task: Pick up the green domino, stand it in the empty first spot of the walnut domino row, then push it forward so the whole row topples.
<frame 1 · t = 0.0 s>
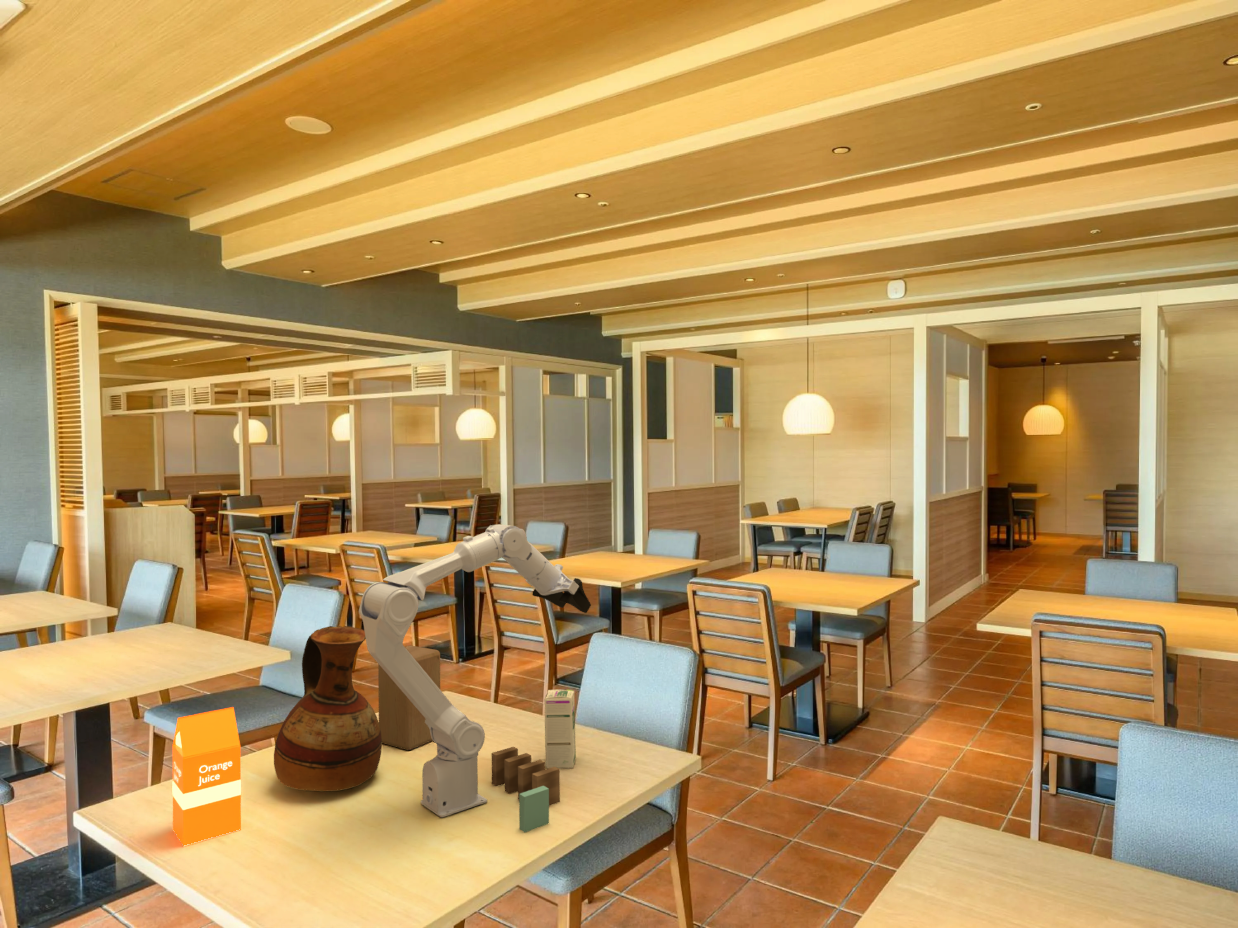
hand: (576, 606, 160), 32 cm above the table, tool tilted 50°, fingers open, 7 cm apart
domino 5: (504, 781, 151), on the table
domino 3: (531, 796, 144), on the table
wooden block: (409, 741, 173), on the table
domino 2: (546, 804, 141), on the table
ceramic pitcher: (328, 782, 151), on the table
green domino: (534, 826, 132), on the table
domino 4: (518, 788, 147), on the table
syrup box: (560, 764, 160), on the table
orange juice: (206, 831, 131), on the table
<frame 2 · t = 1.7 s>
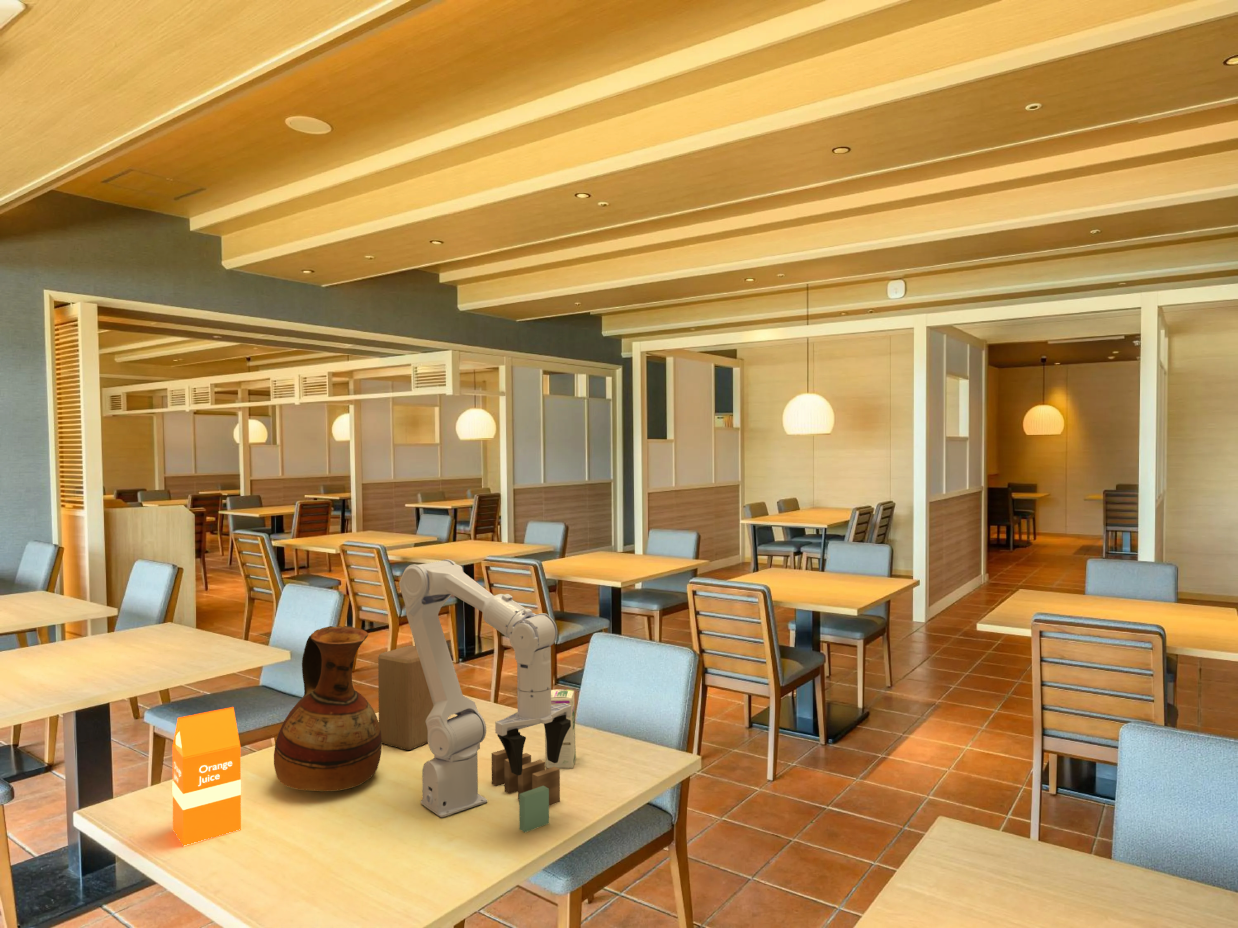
hand: (534, 767, 132), 10 cm above the table, tool pointing down, fingers open, 7 cm apart
nothing on the table moved.
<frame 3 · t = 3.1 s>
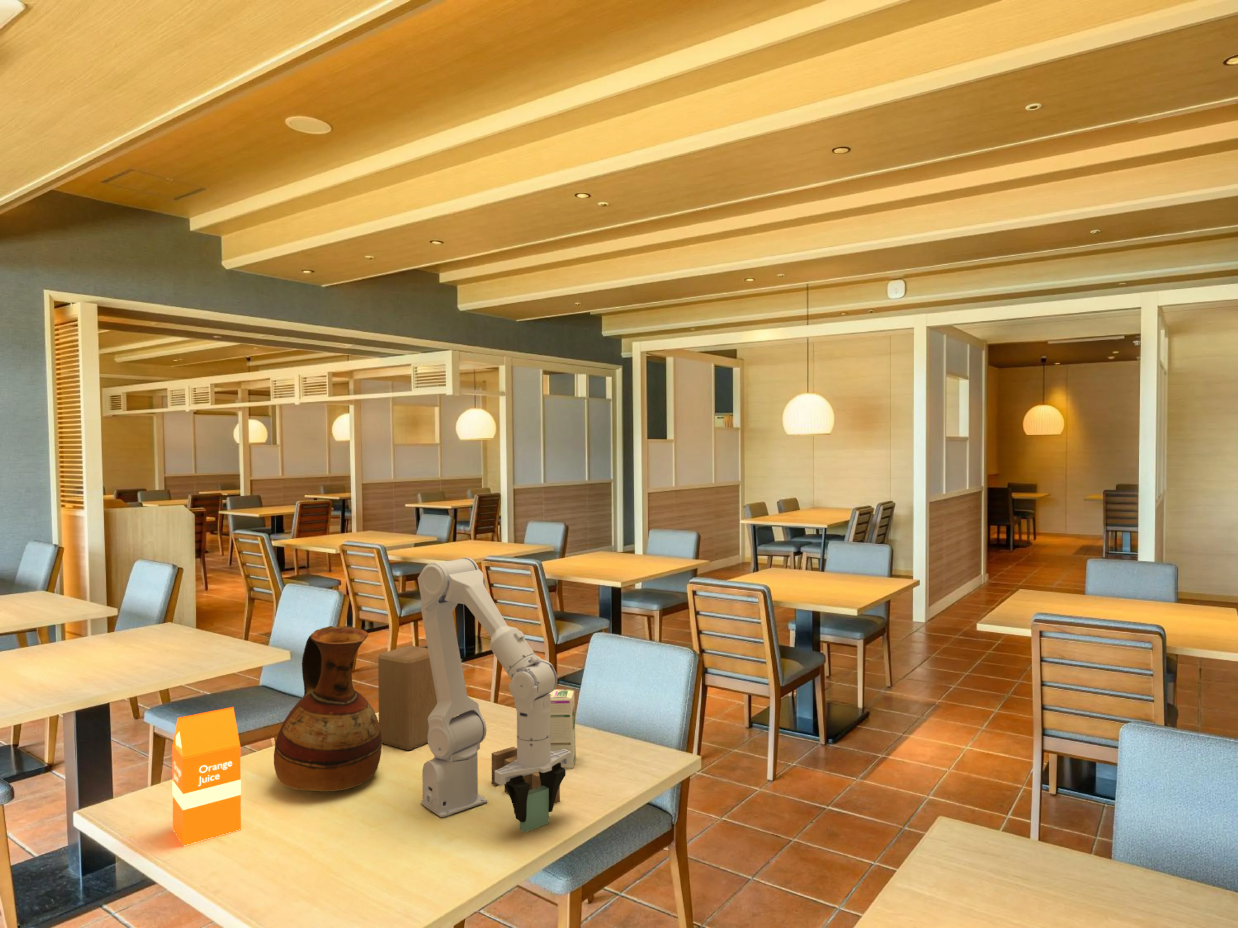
hand: (534, 814, 132), 2 cm above the table, tool pointing down, fingers closed on green domino, 5 cm apart
green domino: (534, 825, 132), on the table, touching gripper
everything else where it was.
when the fingers open (3 cm above the table, at t = 6.8 s): green domino drops 1 cm, on the table.
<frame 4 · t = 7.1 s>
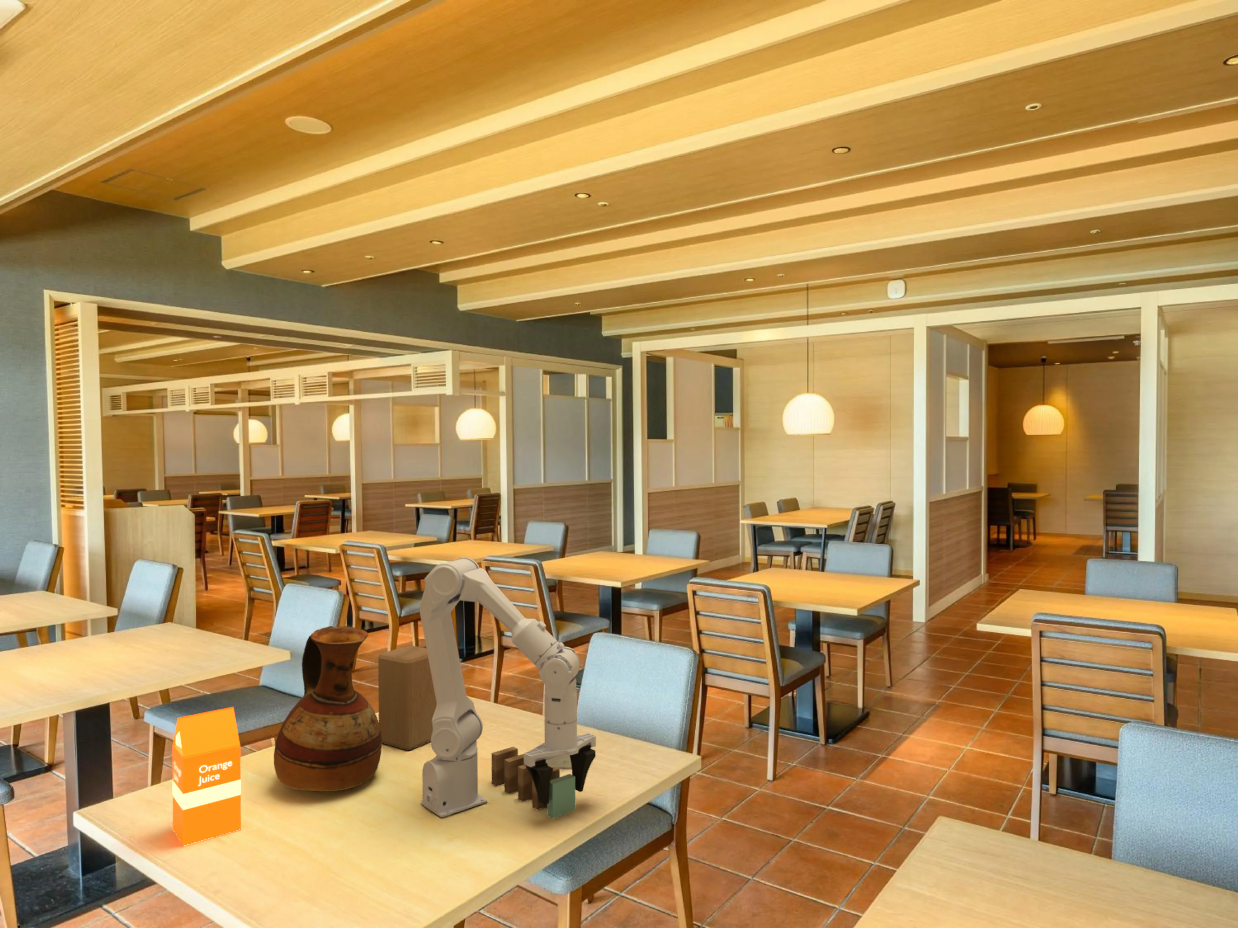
hand: (561, 795, 137), 3 cm above the table, tool pointing down, fingers open, 7 cm apart
green domino: (561, 812, 137), on the table
everything else where it was.
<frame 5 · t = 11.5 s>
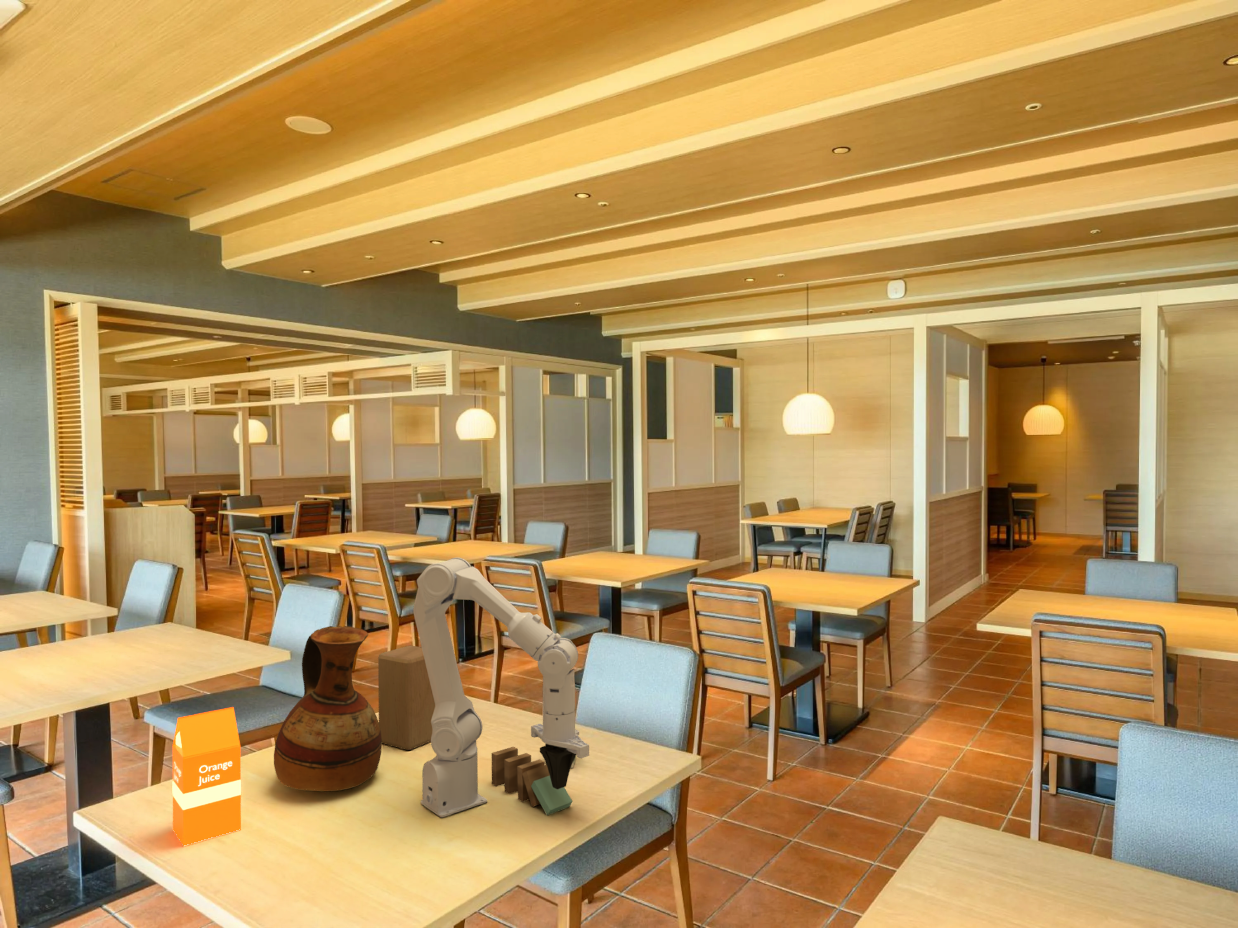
hand: (559, 786, 138), 4 cm above the table, tool pointing down, fingers closed
domino 2: (545, 801, 141), on the table, tilted 31°
green domino: (559, 808, 137), point 1 cm above the table, tilted 53°
everything else where it was.
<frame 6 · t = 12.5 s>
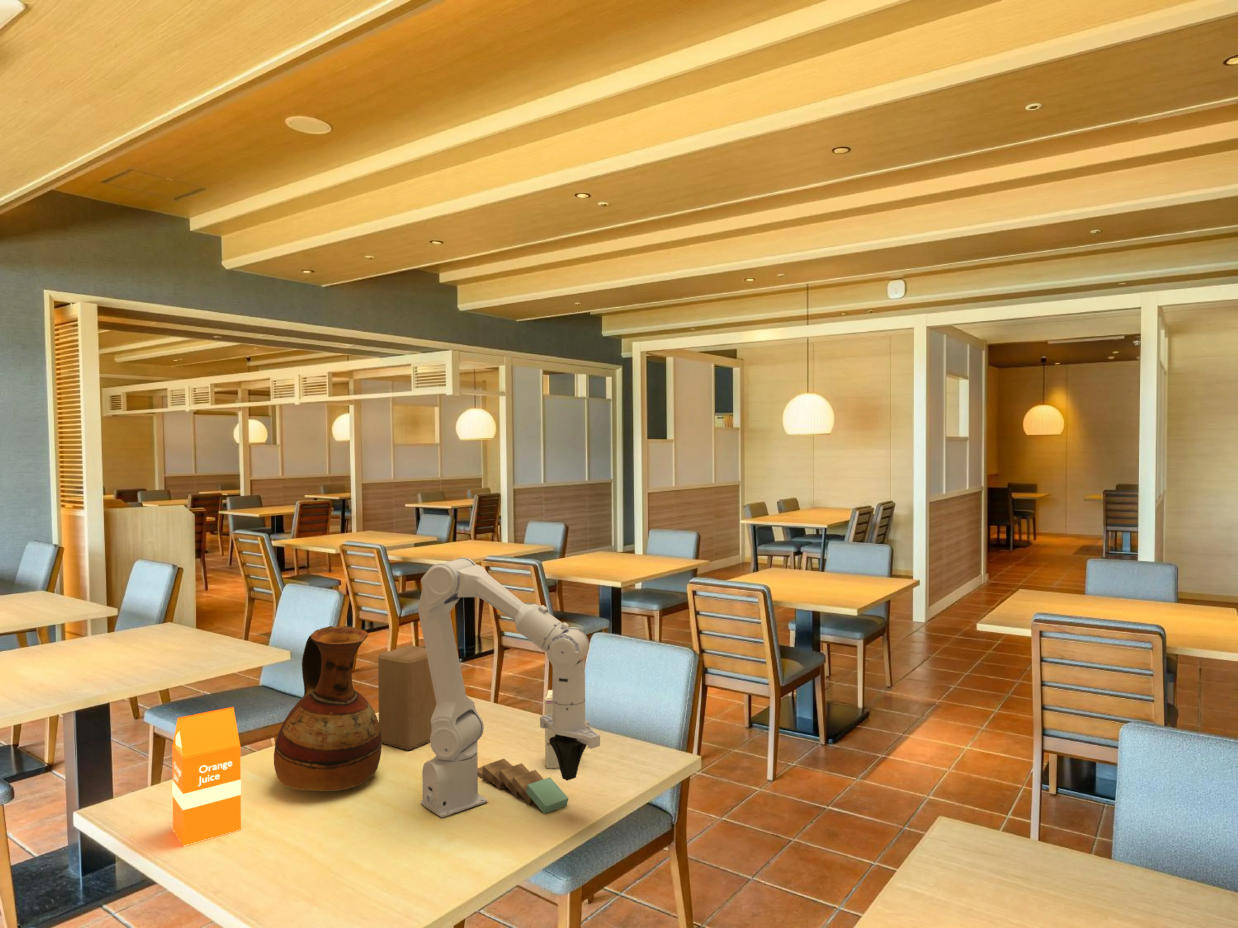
hand: (569, 777, 135), 7 cm above the table, tool pointing down, fingers closed
domino 5: (501, 778, 152), on the table, tilted 90°, touching domino 4
domino 3: (527, 789, 145), point 1 cm above the table, tilted 70°, touching domino 2, domino 4
domino 2: (541, 797, 142), point 1 cm above the table, tilted 70°, touching domino 3, green domino
green domino: (556, 805, 138), point 1 cm above the table, tilted 70°, touching domino 2
domino 4: (511, 781, 149), point 1 cm above the table, tilted 76°, touching domino 3, domino 5
everything else where it was.
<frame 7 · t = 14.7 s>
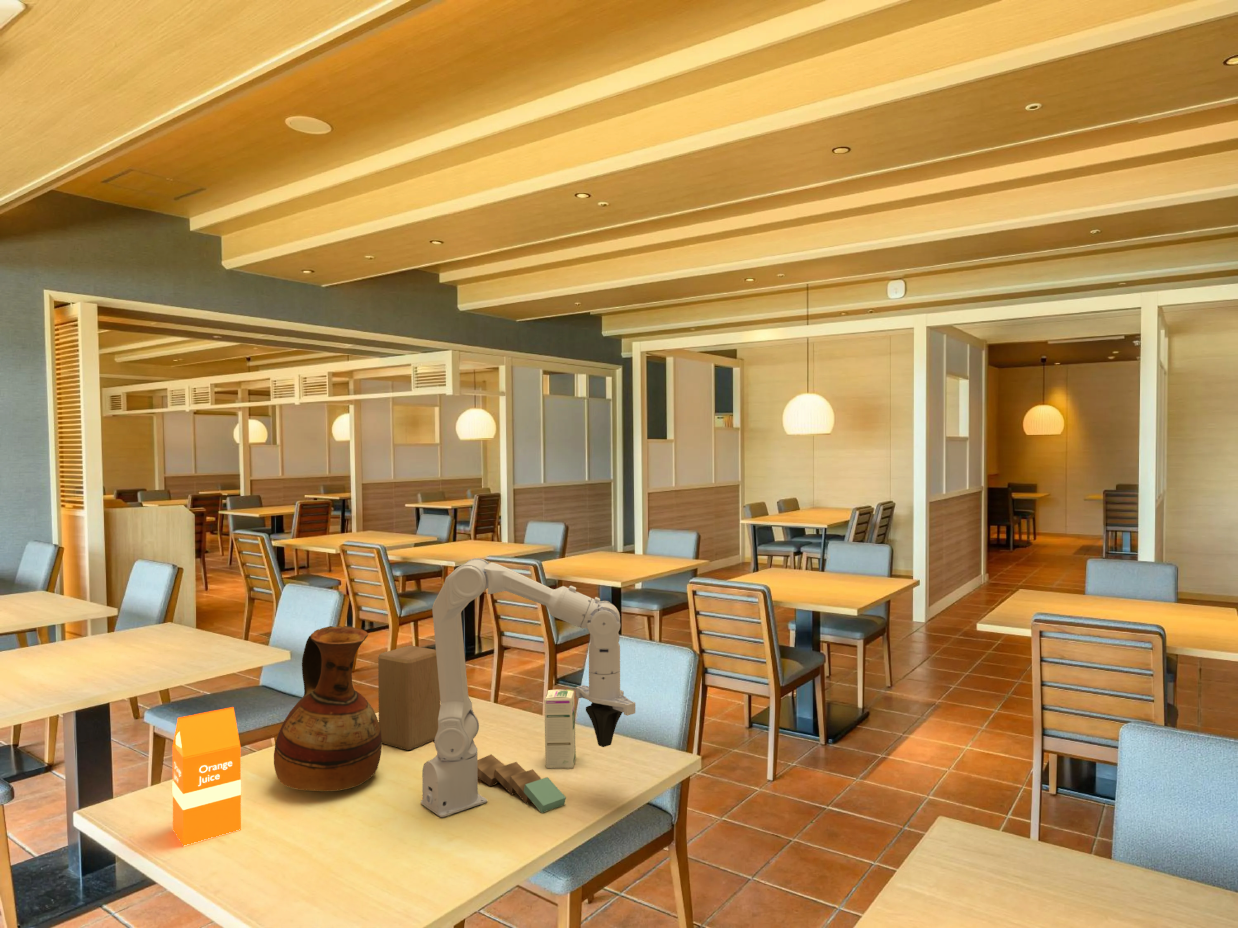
hand: (604, 744, 141), 10 cm above the table, tool pointing down, fingers closed
domino 5: (496, 777, 152), on the table, tilted 90°
domino 3: (522, 786, 146), point 1 cm above the table, tilted 73°, touching domino 2, domino 4
domino 4: (500, 778, 150), point 1 cm above the table, tilted 73°, touching domino 3
at the end: domino 5 tilted 90°; green domino tilted 71°; green domino inside the target area (1.5 cm from its centre), point 0.7 cm above the table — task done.
